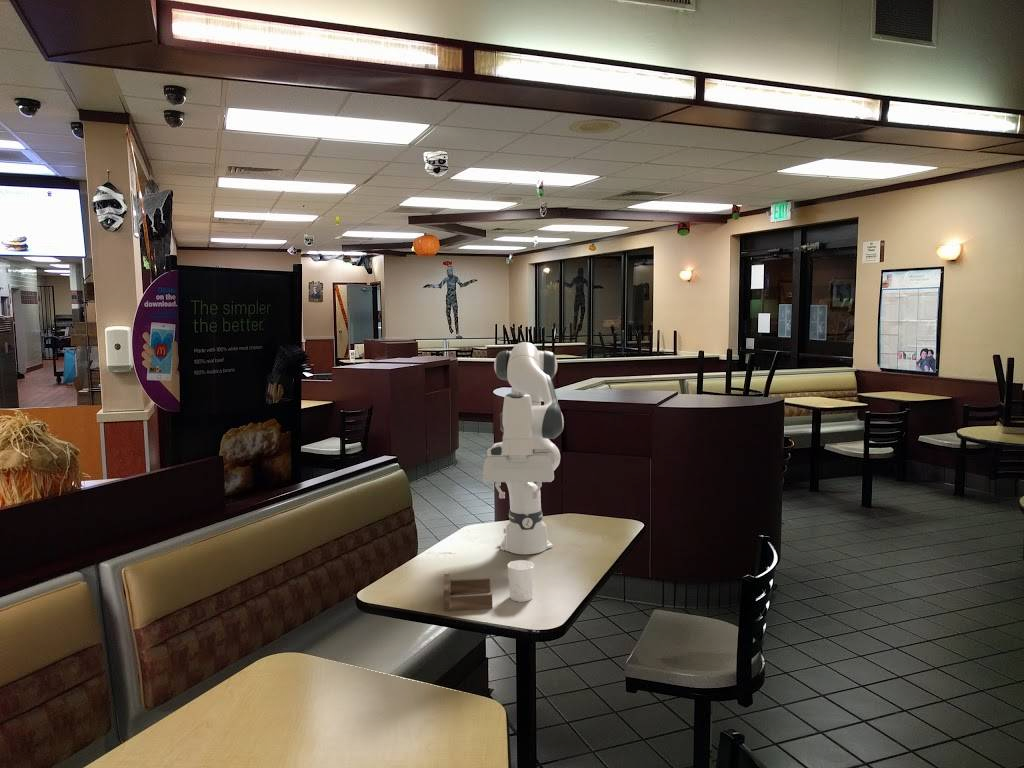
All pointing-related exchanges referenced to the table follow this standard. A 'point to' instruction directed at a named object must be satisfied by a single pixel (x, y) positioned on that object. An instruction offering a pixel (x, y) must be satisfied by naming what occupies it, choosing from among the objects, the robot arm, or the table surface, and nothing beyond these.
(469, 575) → the table surface
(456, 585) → the open brown box
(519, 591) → the white cup
